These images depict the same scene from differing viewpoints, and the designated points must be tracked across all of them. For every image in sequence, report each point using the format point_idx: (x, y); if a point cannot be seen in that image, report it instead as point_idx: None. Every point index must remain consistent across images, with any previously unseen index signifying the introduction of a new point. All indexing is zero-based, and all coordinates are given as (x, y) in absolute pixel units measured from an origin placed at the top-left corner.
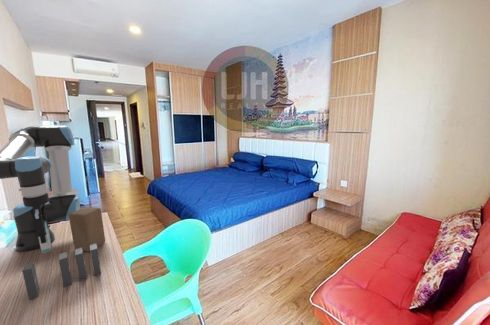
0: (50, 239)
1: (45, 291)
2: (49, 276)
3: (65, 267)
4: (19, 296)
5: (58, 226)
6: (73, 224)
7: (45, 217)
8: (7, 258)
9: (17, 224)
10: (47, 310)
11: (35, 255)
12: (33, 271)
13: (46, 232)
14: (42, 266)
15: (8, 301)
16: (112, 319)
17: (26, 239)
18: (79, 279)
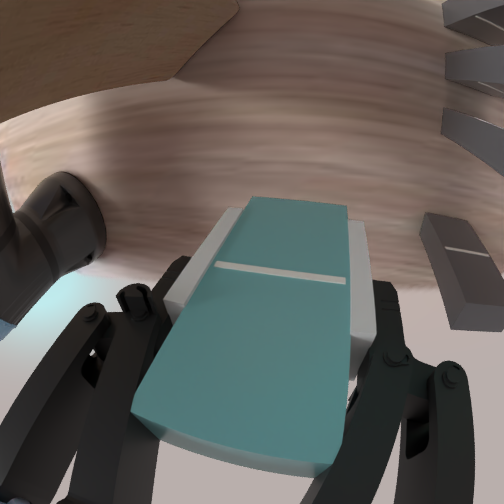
0: (226, 217)
1: (459, 199)
2: (361, 175)
3: None
4: (414, 260)
5: (13, 173)
6: (57, 75)
7: (81, 437)
8: (130, 275)
9: (35, 303)
10: None
11: (141, 216)
12: (493, 284)
13: (335, 342)
14: (244, 194)
15: (413, 282)
16: None
17: (75, 255)
18: (495, 96)
